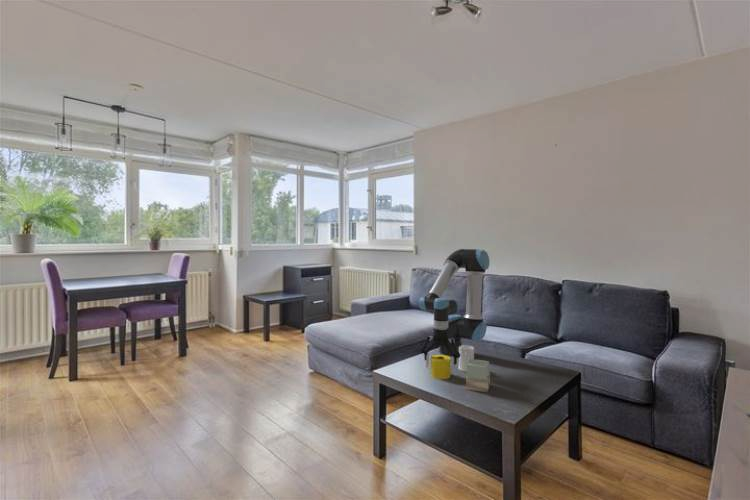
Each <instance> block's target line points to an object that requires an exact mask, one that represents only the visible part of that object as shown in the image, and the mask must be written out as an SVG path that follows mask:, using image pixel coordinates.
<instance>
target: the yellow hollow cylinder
mask: <svg viewBox="0 0 750 500" xmlns="http://www.w3.org/2000/svg"><path fill="white" fill-rule="evenodd" d="M430 376H431V377H432V378H433V377H434V378H433V379H436V378H437V379H436V380H447V379H449V378H451V357H450V356H449V355H444V354H434V355H431V356H430Z"/></svg>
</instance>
